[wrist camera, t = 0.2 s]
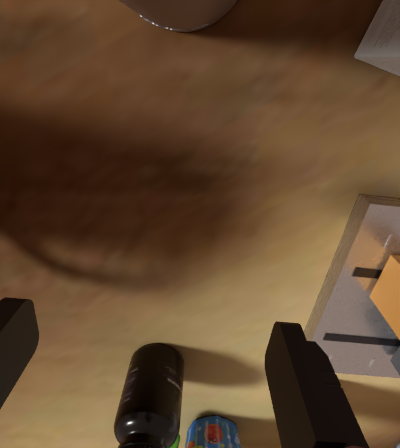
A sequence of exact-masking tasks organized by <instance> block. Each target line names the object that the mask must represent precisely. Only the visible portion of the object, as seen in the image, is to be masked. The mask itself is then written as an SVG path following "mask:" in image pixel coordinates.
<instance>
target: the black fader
mask: <svg viewBox="0 0 400 448" xmlns="http://www.w3.org/2000/svg"><path fill="white" fill-rule="evenodd" d="M390 361H391V363H392V364H393V366H394V367H395V369H396V371H397V372H398V374H399V376H400V346H399V348H398V349H397V351H396V352H395V354H394V355H393V357H392V358H391V360H390Z"/></svg>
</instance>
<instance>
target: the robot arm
mask: <svg viewBox="0 0 400 448" xmlns="http://www.w3.org/2000/svg"><path fill="white" fill-rule="evenodd" d="M119 1H120V2H122V3H123V4H125V5H126V6H128V7H129V8H131V9H132V10H133V11H135V12H136V13H138V14H139V15H140V16H141V17H142V18H143V19H145V20H147V21H148V22H150V23H152V24H154V25H156V26H158V27H161V28H163V29H167V30H171V31H175V32H192V31H196V30H200V29H204V28H206V27H208V26H210V25H211V24H213V23H215V22H217V21H218V20H219V19H221V18H222V17H223V16H224V15H225V14H226V13H228V12H229V11H230V9H231V8H232V7H233V5H234V4H235V3H236V2H237V0H119ZM38 341H39V330H38V325H37V320H36V315H35V309H34V304H33V302H32V300H29V299H18V298H3V299H2V300H1V301H0V409H1V407H2V405H3V404H4V402H5V401H6V399H7V397H8V396H9V394H10V392H11V391H12V389H13V387H14V386H15V384H16V382H17V381H18V379H19V377H20V376H21V374H22V372H23V371H24V369H25V367H26V366H27V364H28V363H29V361H30V359H31V358H32V356H33V354H34V352H35V350H36V348H37V345H38ZM265 371H266V376H267V381H268V386H269V390H270V395H271V400H272V404H273V409H274V414H275V418H276V423H277V428H278V432H279V437H280V442H281V446H282V448H369V446H368V444H367V442H366V440H365V438H364V436H363V433H362V431H361V429H360V427H359V424H358V422H357V420H356V418H355V415H354V413H353V411H352V409H351V407H350V404H349V402H348V400H347V398H346V395H345V393H344V391H343V389H342V388H341V384H340V382H339V380H338V378H337V375H336V374H335V371H334V369H333V366H332V364H331V362H330V360H329V357H328V355H327V354H326V353H325V352H324V351H323V350H322V348H321V347H320V346H319V345H318V344H317V343H316V342H315V341H307V339H306V337H305V334H304V332H303V329H302V327H301V325H300V324H298V323H288V322H275V324H274V326H273V330H272V333H271V336H270V340H269V343H268V347H267V350H266V354H265Z"/></svg>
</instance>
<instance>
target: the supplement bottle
mask: <svg viewBox="0 0 400 448" xmlns="http://www.w3.org/2000/svg"><path fill="white" fill-rule="evenodd" d="M183 378H184V360H183V358H182V356H181V355H180V353H179V352H178V351H176V350H175V349H174V348H172V347H170V346H167V345H163V344H149V345H145V346H143V347H141V348H139V349H138V350H137V351H136V352H135V353H134V354H133V356H132V358H131V361H130V365H129V368H128V372H127V376H126V380H125V384H124V388H123V391H122V395H121V399H120V403H119V407H118V411H117V414H116V418H115V423H114V433H115V437H116V439H117V441H118V442H119V443H120V445H119V446H118V448H170V447H171V446H172V445H173V444H174V443H175V441H176V439H177V437H178V435H179V428H180V416H181V404H182V391H183Z"/></svg>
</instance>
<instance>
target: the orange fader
mask: <svg viewBox="0 0 400 448" xmlns="http://www.w3.org/2000/svg"><path fill="white" fill-rule="evenodd" d="M369 297H370V298H371V300H372V301H373V302H374V304H375V305H376V307H377V308H378V310H379V311H380V313H381V314H382V315H383V317H384V318H385V320H386V321H387V323H388V324H389V325H390V327H391V328H392V330H393V331H394V333H395V334H396V336H397V337H398V338H399V340H400V256H397V255H390V257H389V259H388V261H387V263H386V265H385V267H384V269H383V271H382V273H381V275H380V277H379V279H378V281H377V283H376V285H375V287H374V288H373V290H372V292H371V294H370V296H369Z"/></svg>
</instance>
